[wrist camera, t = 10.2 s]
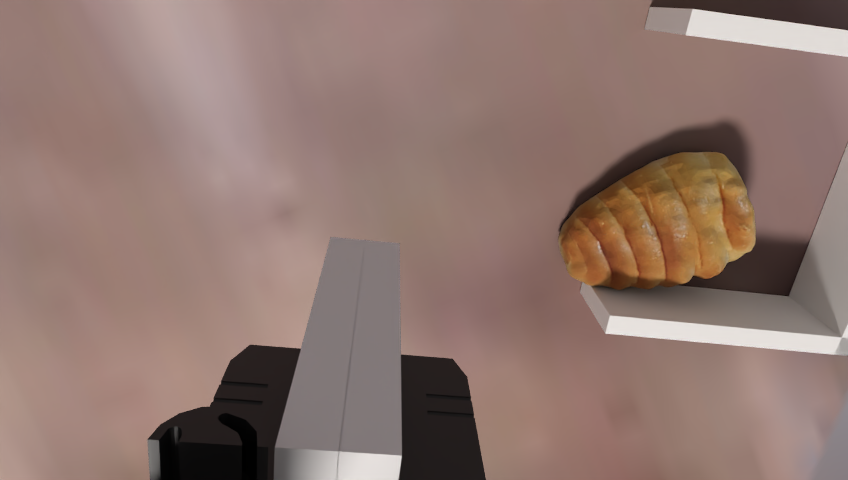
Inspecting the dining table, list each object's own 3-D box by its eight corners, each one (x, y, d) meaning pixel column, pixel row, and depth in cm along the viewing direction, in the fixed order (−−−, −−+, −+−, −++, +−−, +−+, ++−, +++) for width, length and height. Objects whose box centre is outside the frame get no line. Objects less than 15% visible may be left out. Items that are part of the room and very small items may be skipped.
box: (649, 6, 29) (692, 8, 24) (906, 42, 30) (990, 49, 25) (579, 292, 34) (605, 333, 30) (799, 313, 35) (852, 356, 31)
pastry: (573, 300, 35) (593, 335, 31) (540, 194, 32) (556, 218, 29) (737, 245, 34) (776, 273, 30) (714, 131, 31) (754, 147, 28)
